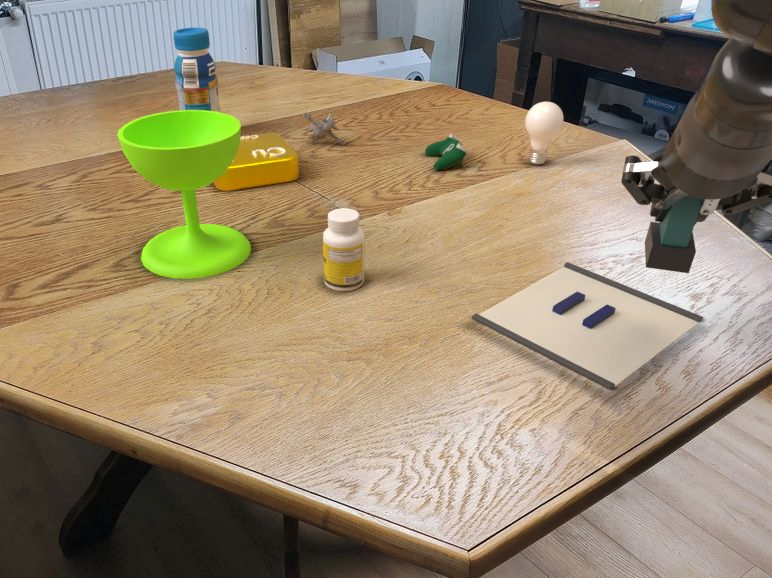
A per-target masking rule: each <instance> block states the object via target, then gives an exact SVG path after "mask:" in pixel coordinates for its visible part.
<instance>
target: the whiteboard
mask: <svg viewBox="0 0 772 578" xmlns="http://www.w3.org/2000/svg"><path fill="white" fill-rule="evenodd" d="M575 292H580V293H582V294H584V295H586V296H585V300H584V301H582V302H581V303H579V304H578V305H576V306H574V307H573V308H571V309H570V310H568V311H566V312H565V313H563V314H562V315H559V314H557V313H555V312H553V311H552V310H553V306H554V305H555V304H557V303H559V302H560V301H562V300H564V299H565V298H567V297H569V296H570V295H572V294H574V293H575ZM605 305H610V306H612V307H614V308H616V309H615V313H614V314H613V315H611V316H610V317H608V318H607V319H605V320H604V321H602V322H601V323H599V324H598V325H596V326H595V327H593V328H592V329H590V328H588V327H585V326H583V325H582V323H583V319H585V318H586V317H588V316H590V315H591V314H593V313H594V312H596V311H597V310H599V309H600V308H602V307H603V306H605ZM703 318H704V316H702V315H701V314H700V315H699V314H697V313H694V312H692V311H690V310H687V309H685V308H682V307H680V306H678V305H674V304H673V303H670V302H667V301H665V300H662V299H661V298H657V297H655V296H653V295H650V294H648V293H645V292H643V291H640V290H638V289H636V288H633V287H630V286H628V285H625V284H623V283H621V282H618V281H615V280H613V279H610V278H608V277H606V276H603V275H600V274H598V273H596V272H593V271H591V270H588V269H586V268H583V267H580V266H578V265H576V264H574V263H571V262H568V261H567V262H565V263H564V264H563V266H562V267H560V268H559V269H557V270H555V271H553V272H551V273H550V274H548V275H546V276H543V278H541V279H539V280H537V281H535V282H533V283H532V284H530V285H529V286H527V287H525V288H523V289H521V290H519V291H517V292H516V293H514V294H512V295H511V296H509V297H507V298H505V299H504V300H502V301H500V302H498V303H497V304H495V305H492V306H491V307H489V308H487V309H486V310H484V311H482V312H480V313H474V314H472V316H471V320H473V321H475V322H476V323H479V324H480V325H482V326H485V327H487V328H489V329H491V330H492V331H493V332H496V333H498V334H500V335H502V336H504V337H506V338H508V339H510V340H512V341H513V342H515V343H518V344H519V345H522V346H523V347H525V348H527V349H529V350H532V352H535V353H537V354H539V355H540V356H542V357H545V358H547V359H549V360H551V361H552V362H555V363H556V364H558V365H560V366H562V367H565V368H566V369H568V370H570V371H572V372H574V373H576V374H578V375H580V376H581V377H584V378H585V379H588V380H589V381H591V382H592V383H595V384H597V385H599V386H601V387H602V388H604V389H607V390H608V391H611V390H613V389H614V388H616V387H617V386H618V385H619V384H621V383H622V382H623V381H625V380H626V379H628V378H629V377H630V376H631V375H632V374H634V373H635V372H637V371H638V370H639V369H641V368H642V367H644V365H646V364H647V363H648V362H650V361H652V359H654V358H655V357H656V356H658V355H659V354H661V352H663V351H664V350H665V349H667V348H668V347H669V346H671V345H672V344H673V343H674V342H676V341H677V340H678V339H679V338H682V336H684V335H685V334H687V333H688V332H690V330H691V329H693V328H694V327H695V326H697V325H698V324H699V323H700V322H702V321H703Z"/></svg>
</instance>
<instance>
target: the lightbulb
mask: <svg viewBox="0 0 772 578" xmlns="http://www.w3.org/2000/svg"><path fill="white" fill-rule="evenodd" d="M564 117H565V116H564V113H563V110H562V108H561V107H560V106H559V105H558V104H556V103H555V102H552V101H540V102H538V103H535V104H534V105H532V107H531V108H529V110H528V111H527V113H526V115H525V119H524V127H525V130H526V133H527V135H528V136H529V141H530V142H529V144H530V148H531V149H530V156H529V162H530V163H531V164H532V165H534V166H539V165H542V164H544V163H546V156H547V152H548V149H549V147H550V145H551V144H552V141H553V139H554V138H555V137H556V136H557V135H558V134H559V133H560V131H561V129H562V128H563V125H564Z"/></svg>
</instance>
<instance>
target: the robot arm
mask: <svg viewBox="0 0 772 578" xmlns="http://www.w3.org/2000/svg"><path fill="white" fill-rule="evenodd" d="M710 6H711V9H710V10H711V16H712V20H713V22H714V25H715V26H716V28H717V29H718V30H719V31H720V32H721V33H722V34H724V36H726V37H728V38H729V39H728V40H727V41H726V42H725V43H724V44H723V46H722V47H721V48H720V50H719V51H718V52H717V54H716V55H715V57H714V58H713V61H712V62H711V65H710V67H709V69H708V71H707V72H706V75H705V76H704V79H703V80H702V82H701V84H700V86H699V89H698V90H697V91H696V92H695V93H694V95H693V96H692V97H691V98H690V100H689V101H688V104H686V107H685V109H684V110H683V113H682V115H681V116H680V119H679V120H678V123H677V125H676V127H675V129H674V131H673V132H672V134H671V136H670V139H669V141H668V143H667V144H666V147H665V148H664V151H662V152H661V153H658V154H657V155H656V156H655V157H654V158H653V159H652V160H651V161H646V160H643V161H642V160H641V158H640V157H639V156H637V155H628V156H626V157H625V158H624V159H625V160H624V165H623V170H622V176H621V181H620V183H621V184H622V186H623V187H624V188H625V189H626V191H627V192H628V193H629V194H630V196H631V197H632V198H633V199H634V201H635V202H636V203H637V204H638V205H640V206H650V205H651V206H650V210H649V211H650V212H649V215H650V217H653V218H654V222H658V223H660V222H662V221H663V219H664V218H665V216H666V215H667V213H668V211H669V209H670V206H671V205H676V204H677V203H678V202H679V201H681V200H682V199H683V198H684V197H687V196H692V197H696V198H700V199H703V200H702V204H701V207H700V210H699V213H698V216H697V219H696V222H695V225H694V227H695V226H696V225H697V223H702V222H704V221H706V219H707V218H708V217H709V216H710V215H713V214H714V212H715V211H721V213H722V214H723V215H726V216H727V215H728V216H730V215H735V214H739V213H741V212H744V211H747V210H750V209H753V208H755V207H759V206H762V205H764V204H768V203H770V202H772V168H771V169H768V170H766V171H763V170H764V169H765V168H766V167H767V165H768V164H769V163H770V161H772V0H711V5H710ZM655 181H656V182H658V183H659V184H658V183H655Z"/></svg>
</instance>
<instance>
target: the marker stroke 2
mask: <svg viewBox="0 0 772 578" xmlns="http://www.w3.org/2000/svg"><path fill="white" fill-rule="evenodd" d="M615 309H616V308H614V307H612V306H610V305H605V306H603V307H602V308H600V309H599V310H597V311H596V312H594V313H593V314H591V315H590V316H588V317H586V318H585V319H583V323H582V325H583V326H585V327H588V328H590V329H592V328H593V327H595V326H596V325H598V324H599V323H601V322H602V321H604V320H605V319H607V318H608V317H610V316H611V315H613V314H614V313H615Z"/></svg>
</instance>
